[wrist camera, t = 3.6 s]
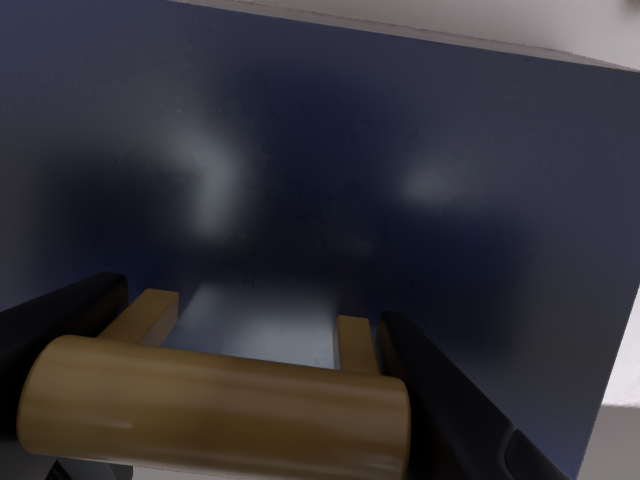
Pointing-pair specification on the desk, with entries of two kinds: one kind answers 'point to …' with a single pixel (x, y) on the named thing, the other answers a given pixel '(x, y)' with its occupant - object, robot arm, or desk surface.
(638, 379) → the desk surface
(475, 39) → the chest
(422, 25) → the desk surface
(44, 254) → the lid
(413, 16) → the desk surface
